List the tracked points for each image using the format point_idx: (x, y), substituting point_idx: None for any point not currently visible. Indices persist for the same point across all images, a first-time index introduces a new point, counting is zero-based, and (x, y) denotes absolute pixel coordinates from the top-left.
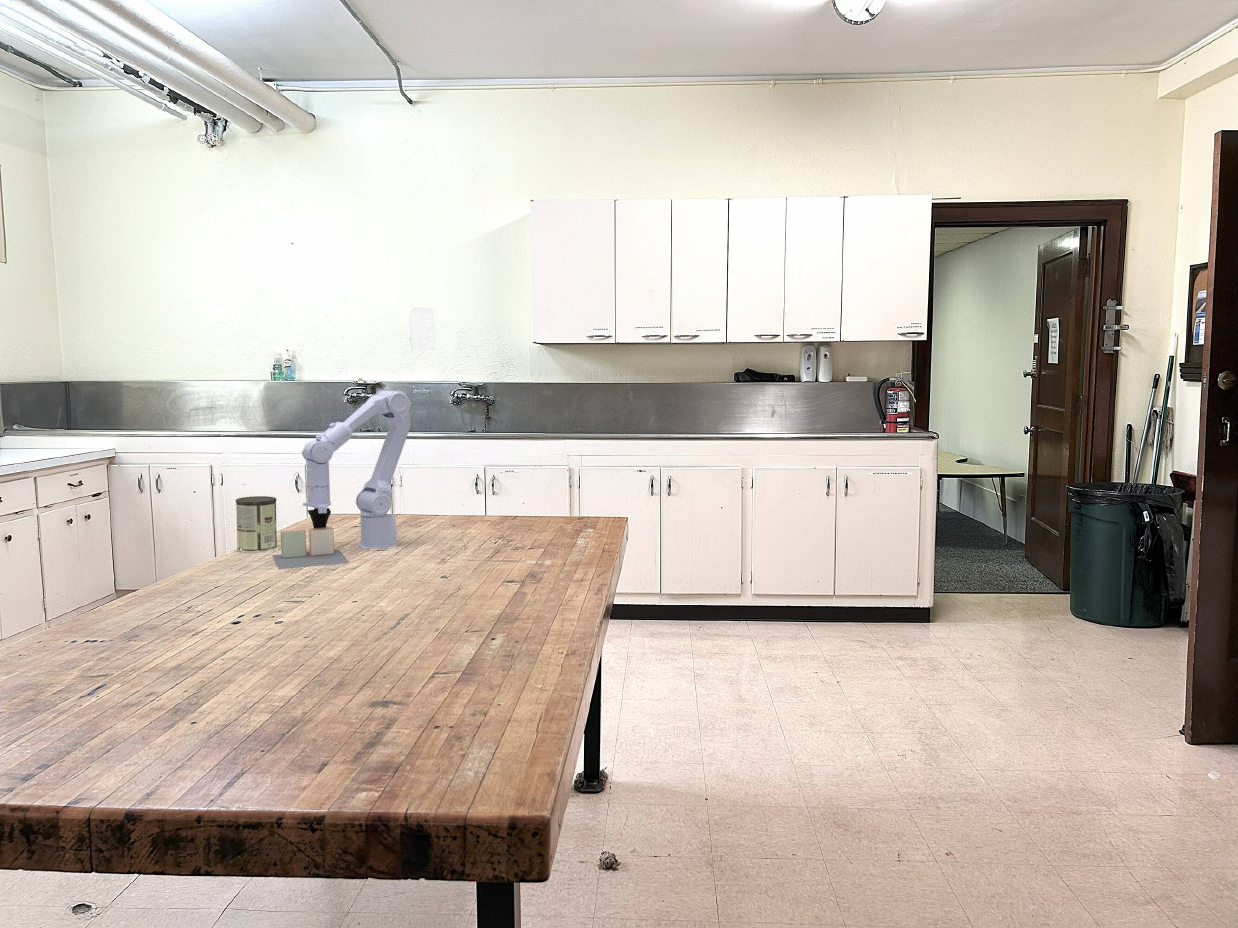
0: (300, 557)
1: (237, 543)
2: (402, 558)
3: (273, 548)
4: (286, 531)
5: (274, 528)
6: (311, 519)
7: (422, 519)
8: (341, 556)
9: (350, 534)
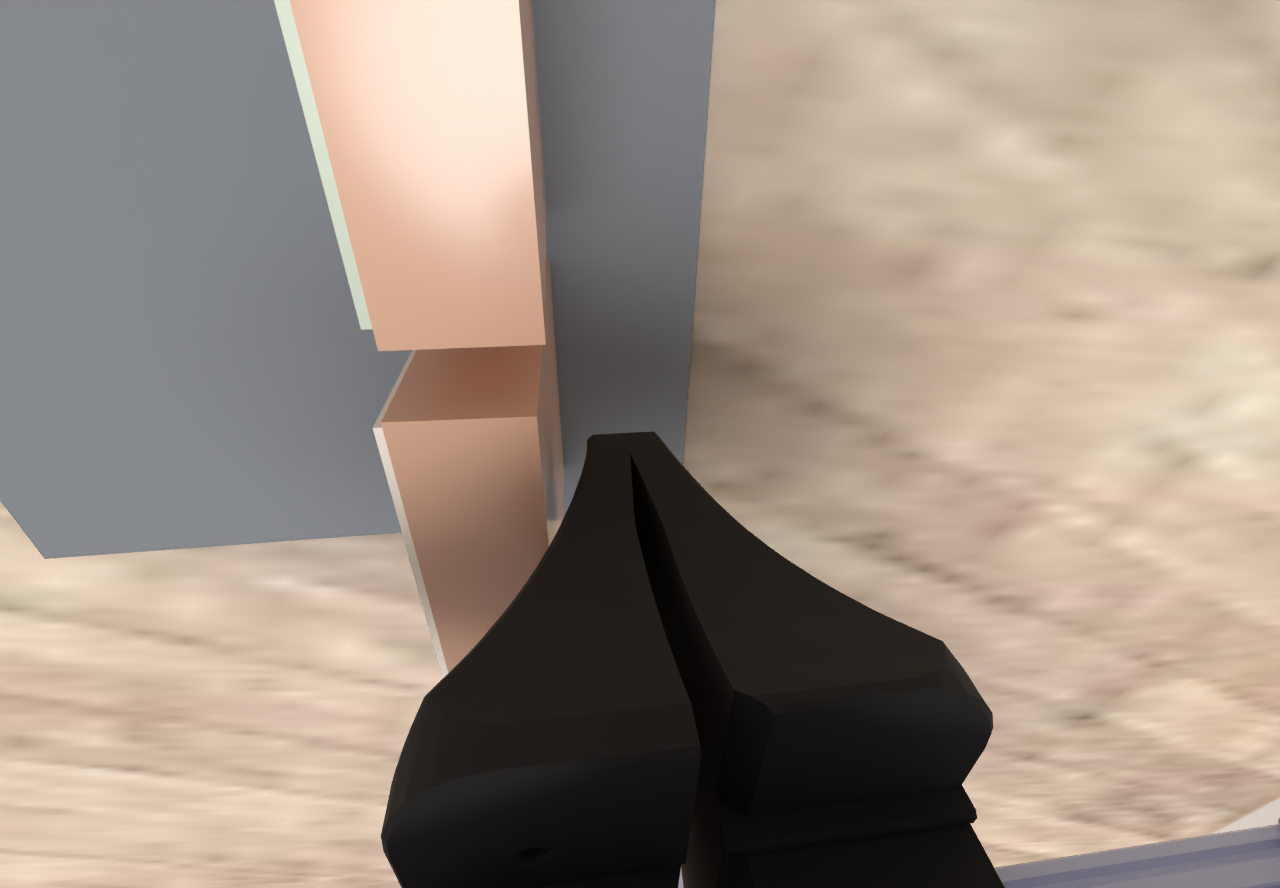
0: None
1: None
2: (264, 784)
3: None
4: None
5: None
6: (781, 561)
7: (1210, 819)
8: (357, 516)
9: (1199, 588)
